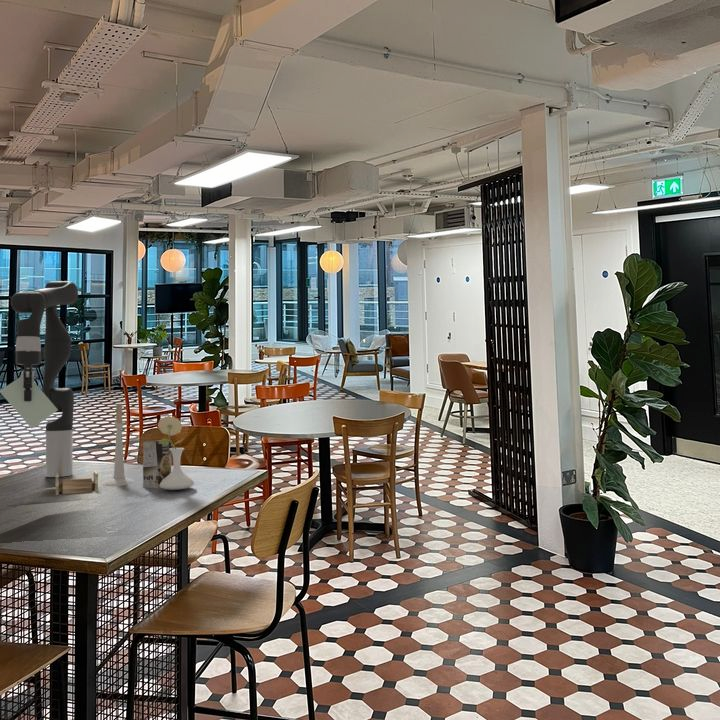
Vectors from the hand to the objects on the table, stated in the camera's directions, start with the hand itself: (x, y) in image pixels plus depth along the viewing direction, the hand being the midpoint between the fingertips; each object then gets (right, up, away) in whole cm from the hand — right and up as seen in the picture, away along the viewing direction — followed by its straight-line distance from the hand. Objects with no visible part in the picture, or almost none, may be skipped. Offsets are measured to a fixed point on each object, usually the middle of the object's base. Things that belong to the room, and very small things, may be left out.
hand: (27, 401), depth 212 cm
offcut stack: (+17, -31, 0) cm, 35 cm away
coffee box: (+41, -31, +9) cm, 52 cm away
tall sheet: (+5, -6, +2) cm, 8 cm away
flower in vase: (+50, -30, 0) cm, 58 cm away
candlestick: (+26, -32, +14) cm, 43 cm away
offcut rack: (+16, -31, +1) cm, 35 cm away
